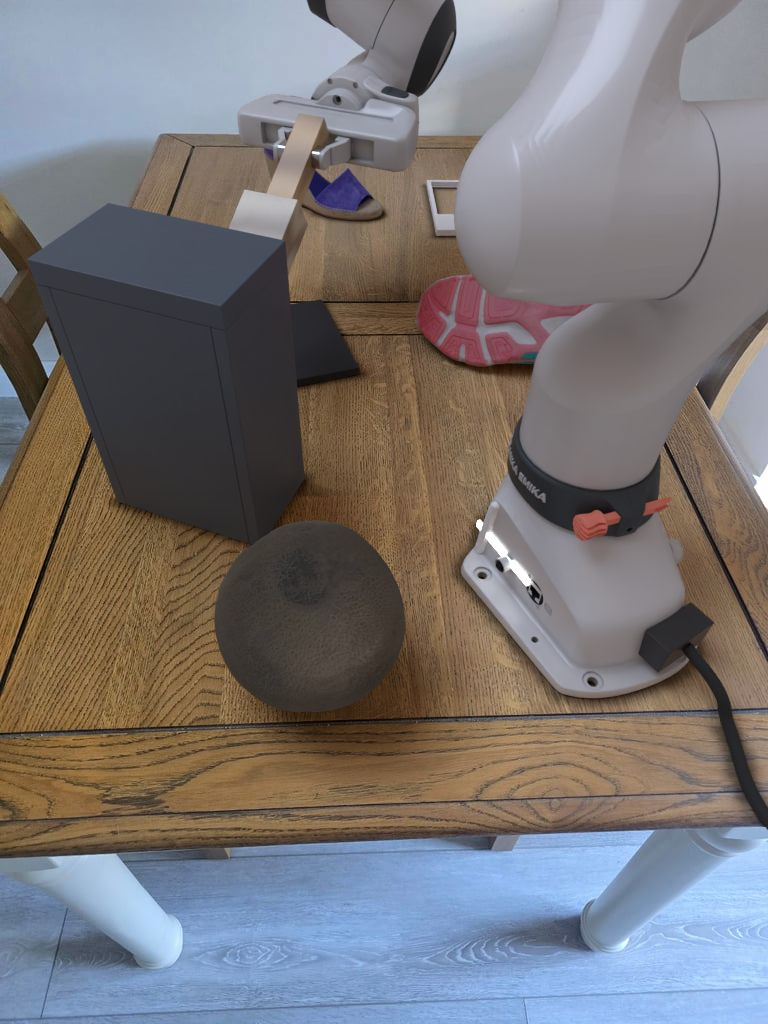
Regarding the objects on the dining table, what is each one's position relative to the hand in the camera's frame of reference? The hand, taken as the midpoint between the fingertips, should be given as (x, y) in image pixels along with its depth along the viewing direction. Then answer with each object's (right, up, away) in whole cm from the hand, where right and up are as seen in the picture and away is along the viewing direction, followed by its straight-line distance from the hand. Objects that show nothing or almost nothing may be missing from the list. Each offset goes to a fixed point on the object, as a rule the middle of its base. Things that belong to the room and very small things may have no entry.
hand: (298, 158), depth 74 cm
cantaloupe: (+3, -50, -15) cm, 53 cm away
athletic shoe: (+25, -17, +15) cm, 34 cm away
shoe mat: (-1, -16, +15) cm, 22 cm away
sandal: (-1, +13, +42) cm, 44 cm away
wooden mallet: (-1, -5, +1) cm, 6 cm away
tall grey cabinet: (-8, -35, -2) cm, 36 cm away
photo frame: (+24, +12, +42) cm, 50 cm away
